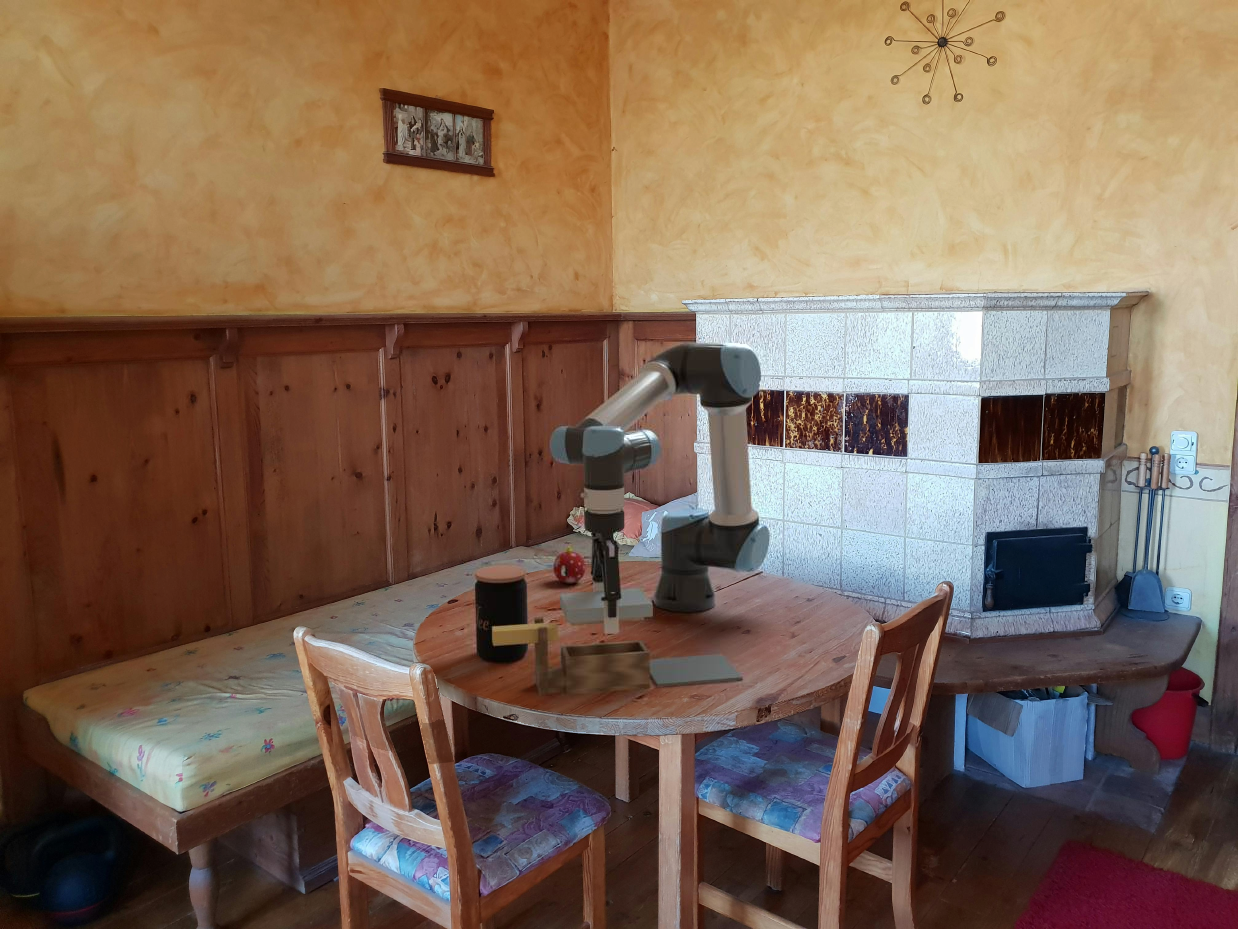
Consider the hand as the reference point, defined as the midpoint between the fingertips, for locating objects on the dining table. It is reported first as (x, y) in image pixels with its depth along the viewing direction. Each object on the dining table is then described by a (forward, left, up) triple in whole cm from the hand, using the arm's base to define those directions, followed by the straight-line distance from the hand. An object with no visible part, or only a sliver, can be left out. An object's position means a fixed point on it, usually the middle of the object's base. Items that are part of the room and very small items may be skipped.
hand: (605, 623), depth 177 cm
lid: (0, 0, +2) cm, 2 cm away
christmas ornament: (-4, -71, -12) cm, 72 cm away
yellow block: (+15, 0, -2) cm, 16 cm away
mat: (-18, -3, -12) cm, 22 cm away
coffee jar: (+18, -20, -12) cm, 30 cm away
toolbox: (+3, 0, -12) cm, 12 cm away
